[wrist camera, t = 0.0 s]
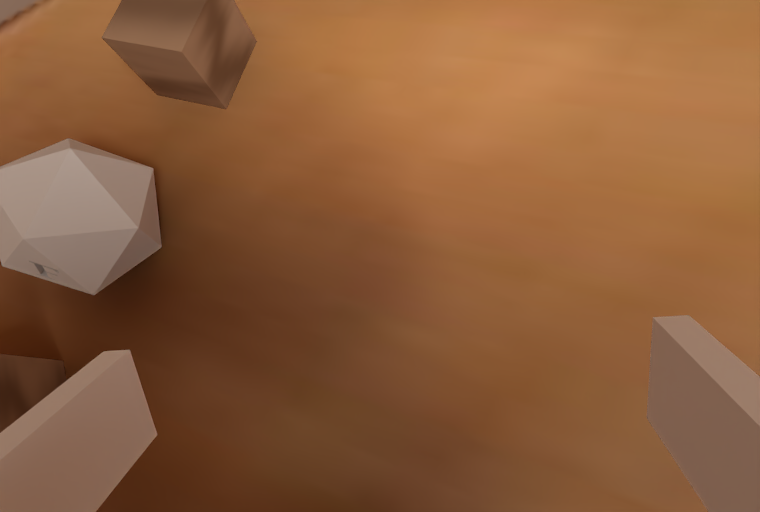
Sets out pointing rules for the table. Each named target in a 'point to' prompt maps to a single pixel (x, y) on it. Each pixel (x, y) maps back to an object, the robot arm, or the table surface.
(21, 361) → the walnut block
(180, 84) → the walnut block
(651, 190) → the table surface
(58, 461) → the robot arm
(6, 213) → the die
